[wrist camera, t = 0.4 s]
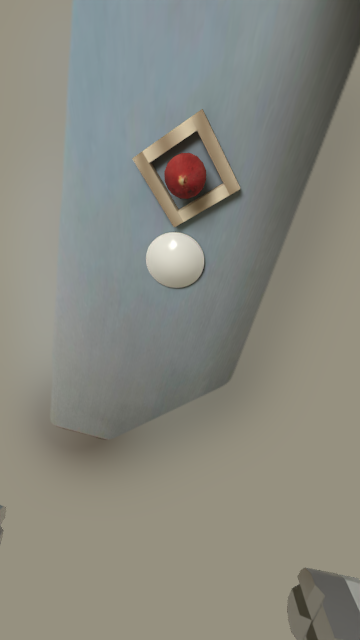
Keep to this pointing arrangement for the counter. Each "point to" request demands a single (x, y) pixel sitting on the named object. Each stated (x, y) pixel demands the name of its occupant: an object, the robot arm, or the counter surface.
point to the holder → (217, 156)
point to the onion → (185, 175)
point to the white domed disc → (175, 259)
